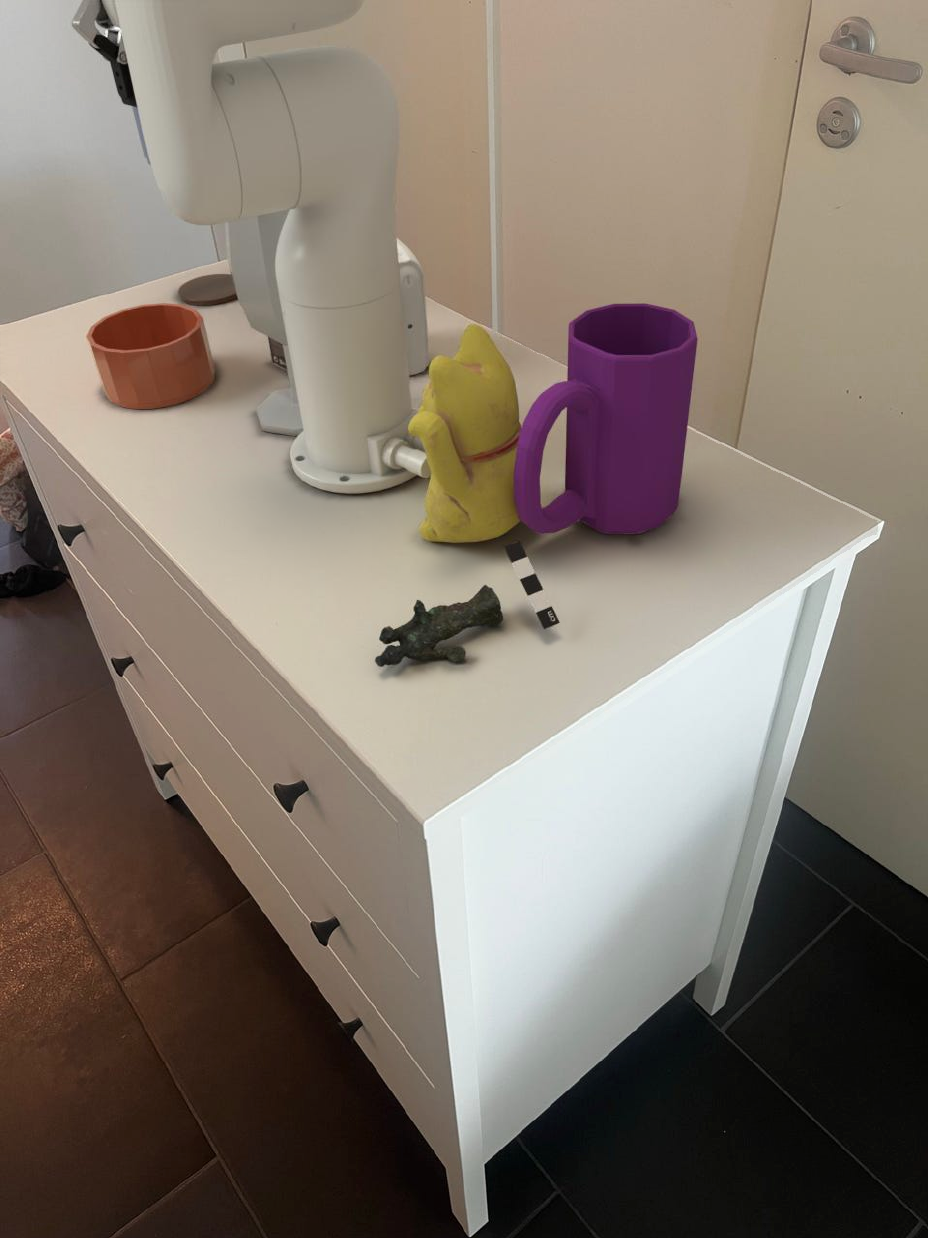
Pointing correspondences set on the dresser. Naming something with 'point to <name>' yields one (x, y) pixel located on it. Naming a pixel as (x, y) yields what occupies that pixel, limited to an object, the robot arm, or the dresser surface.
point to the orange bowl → (152, 355)
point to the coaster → (208, 290)
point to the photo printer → (413, 310)
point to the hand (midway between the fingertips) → (164, 94)
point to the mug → (613, 422)
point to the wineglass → (264, 306)
